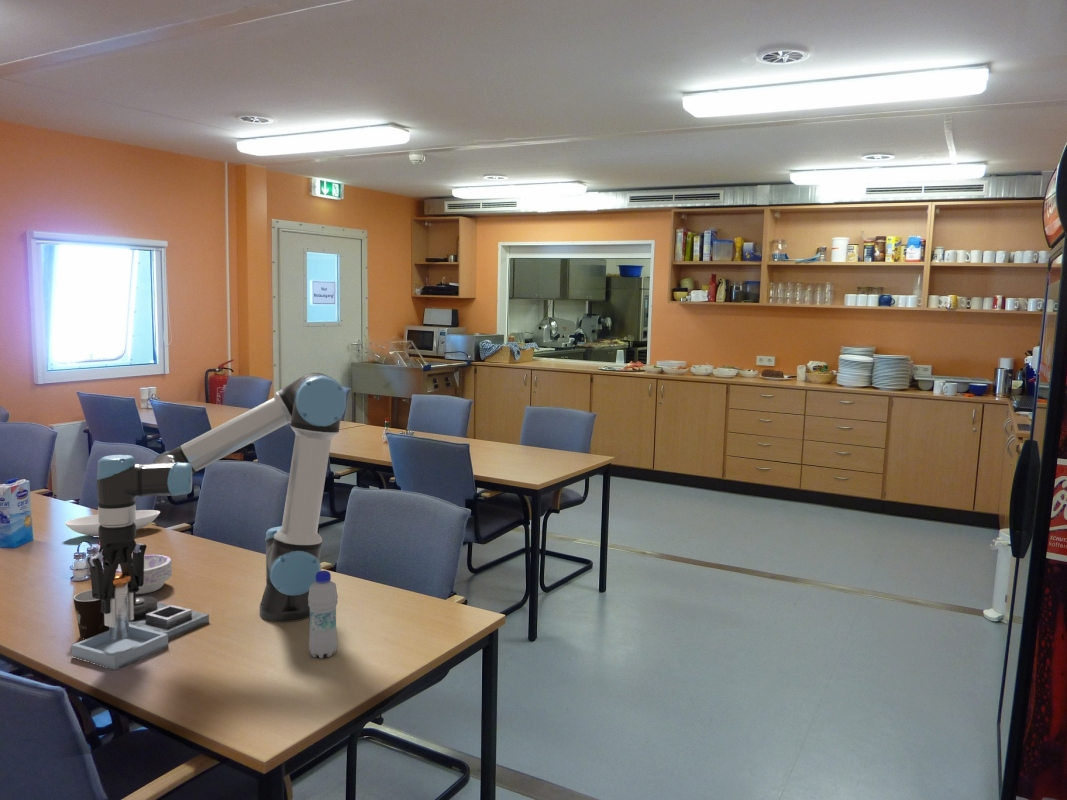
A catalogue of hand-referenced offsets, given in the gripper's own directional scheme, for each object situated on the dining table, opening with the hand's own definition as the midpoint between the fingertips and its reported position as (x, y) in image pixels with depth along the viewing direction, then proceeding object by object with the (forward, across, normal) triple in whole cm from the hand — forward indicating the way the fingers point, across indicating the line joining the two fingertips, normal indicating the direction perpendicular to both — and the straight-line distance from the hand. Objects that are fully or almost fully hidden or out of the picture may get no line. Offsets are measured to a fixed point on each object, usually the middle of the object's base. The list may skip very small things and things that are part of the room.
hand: (119, 622), depth 175 cm
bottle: (+7, -20, +42) cm, 47 cm away
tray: (+7, 0, 0) cm, 7 cm away
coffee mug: (+7, -3, -13) cm, 15 cm away
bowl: (+8, -65, -87) cm, 109 cm away
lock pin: (+3, 0, 0) cm, 3 cm away
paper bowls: (+7, -31, -31) cm, 44 cm away
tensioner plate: (+7, -15, -7) cm, 18 cm away
